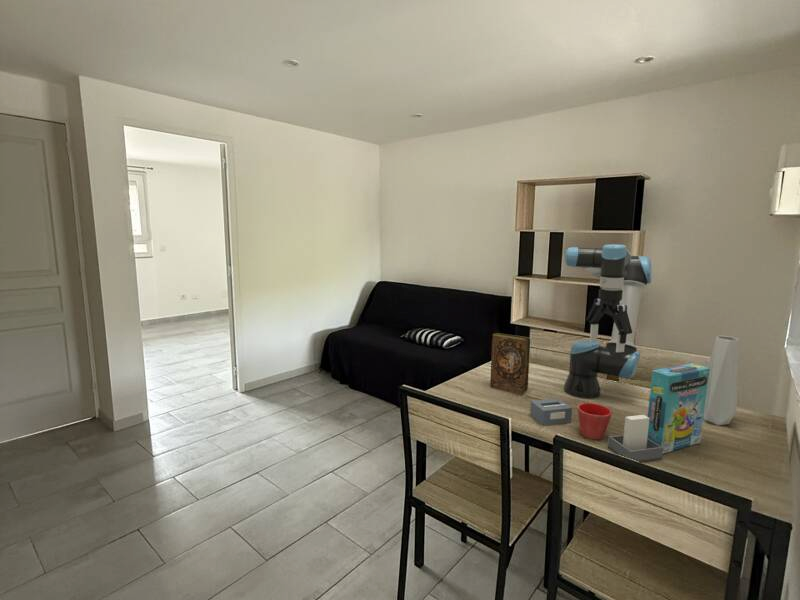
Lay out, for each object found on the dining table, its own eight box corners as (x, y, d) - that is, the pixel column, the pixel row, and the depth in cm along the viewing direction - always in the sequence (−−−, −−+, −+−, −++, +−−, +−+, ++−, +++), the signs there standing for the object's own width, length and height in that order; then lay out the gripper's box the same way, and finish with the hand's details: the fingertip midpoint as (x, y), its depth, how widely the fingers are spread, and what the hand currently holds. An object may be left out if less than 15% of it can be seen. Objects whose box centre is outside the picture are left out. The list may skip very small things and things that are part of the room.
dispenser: (557, 412, 169) (558, 397, 168) (571, 422, 160) (572, 406, 159) (530, 415, 167) (531, 399, 165) (542, 426, 158) (543, 409, 157)
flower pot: (607, 444, 144) (609, 418, 143) (573, 436, 150) (575, 410, 148) (610, 432, 153) (613, 407, 151) (578, 424, 159) (580, 400, 157)
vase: (699, 411, 171) (709, 332, 165) (735, 420, 163) (747, 337, 157) (692, 420, 162) (703, 337, 157) (730, 430, 154) (742, 343, 149)
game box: (661, 455, 138) (670, 376, 133) (643, 446, 143) (651, 370, 139) (701, 443, 146) (711, 367, 141) (682, 434, 151) (691, 362, 147)
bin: (638, 443, 145) (639, 432, 144) (661, 459, 135) (663, 447, 135) (607, 447, 142) (608, 436, 142) (629, 463, 133) (630, 451, 132)
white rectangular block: (640, 448, 141) (643, 414, 139) (645, 452, 138) (649, 417, 136) (622, 450, 139) (625, 416, 137) (627, 454, 137) (630, 420, 135)
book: (488, 387, 195) (490, 335, 191) (492, 383, 200) (495, 332, 196) (524, 395, 187) (527, 340, 183) (527, 391, 191) (530, 337, 187)
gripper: (579, 283, 161) (575, 337, 165) (628, 295, 137) (622, 357, 141) (596, 283, 162) (591, 336, 166) (648, 293, 139) (641, 355, 143)
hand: (606, 346), depth 154 cm, fingers open, 13 cm apart
